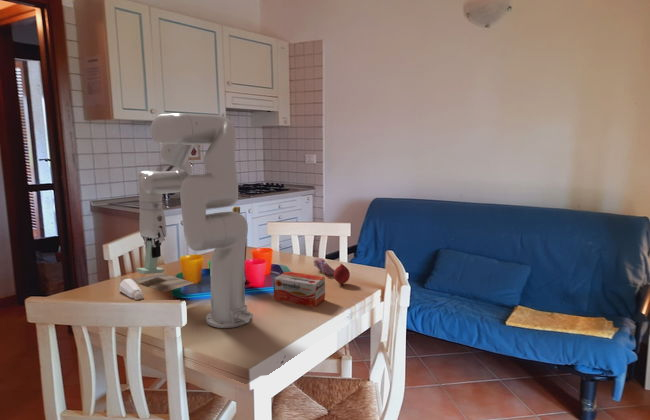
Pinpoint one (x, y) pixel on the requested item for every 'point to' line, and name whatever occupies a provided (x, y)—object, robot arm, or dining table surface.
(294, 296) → the medicine box
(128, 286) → the pepper shaker
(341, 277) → the onion
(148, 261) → the mint t-shaped block
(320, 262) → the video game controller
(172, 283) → the board
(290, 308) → the dining table surface
